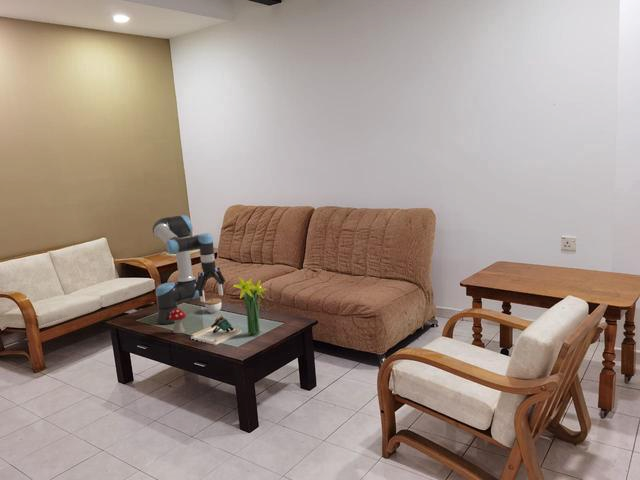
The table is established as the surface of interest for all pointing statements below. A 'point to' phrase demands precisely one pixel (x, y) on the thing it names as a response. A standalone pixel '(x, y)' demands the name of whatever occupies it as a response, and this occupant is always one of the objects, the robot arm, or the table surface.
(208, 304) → the lidded jar
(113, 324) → the table surface
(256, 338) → the table surface
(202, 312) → the table surface
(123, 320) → the table surface
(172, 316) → the decorative mushroom
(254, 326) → the daffodil flowers
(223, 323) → the binoculars
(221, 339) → the display riser
